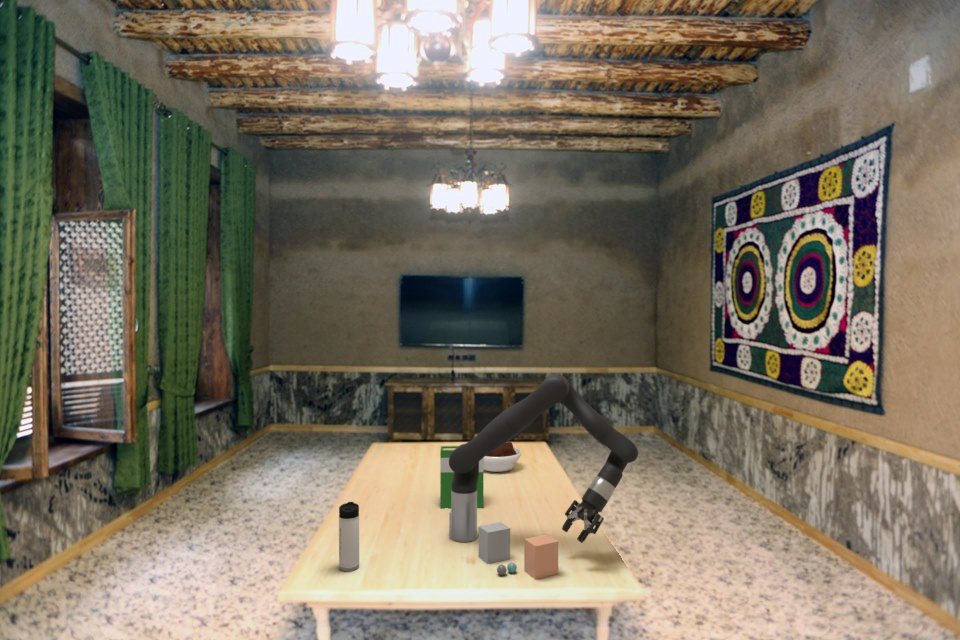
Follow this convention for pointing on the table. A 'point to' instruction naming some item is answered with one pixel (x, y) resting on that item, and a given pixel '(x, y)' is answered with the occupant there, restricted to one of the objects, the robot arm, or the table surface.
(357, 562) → the travel mug
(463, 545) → the table surface
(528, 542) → the terracotta clay block
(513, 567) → the marble teal
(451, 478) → the hardback book
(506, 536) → the grey upright block
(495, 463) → the chocolate pudding bowl
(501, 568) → the marble charcoal
